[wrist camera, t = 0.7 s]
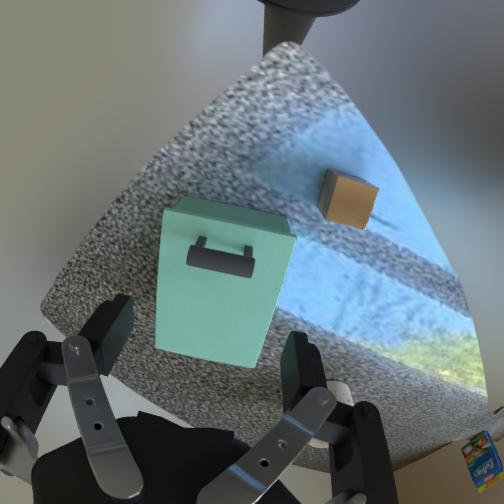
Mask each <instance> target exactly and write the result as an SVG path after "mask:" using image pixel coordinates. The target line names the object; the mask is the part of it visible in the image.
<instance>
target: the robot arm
mask: <svg viewBox="0 0 504 504" xmlns="http://www.w3.org/2000/svg"><path fill="white" fill-rule="evenodd" d="M133 323H134V315H133V297H131V296H128V295H124V294H120V293H118V294H117V295H116V297H115V298H114V299H113V301H109V300H107V301H105V302H103V303H102V304H100V305H99V306H98V308H97V309H96V310H95V312H94V313H93V314H92V316H91V317H90V318H89V320H88V321H87V322H86V324H85V325H84V326H83V328H82V329H81V331H80V332H79V333H78V335H73V336H70V337H67V338H66V339H65V340H64V341H63V342H53V341H47V339H46V336H45V335H44V334H43V333H42V332H40V331H30V332H28V333H26V334H25V335H24V336H23V337H22V338H21V340H20V341H19V342H18V344H17V345H16V346H15V348H14V349H13V351H12V352H11V353H10V355H9V356H8V358H7V359H6V361H5V362H4V364H3V365H2V367H1V368H0V470H1V471H2V472H3V473H4V474H6V475H8V476H16V477H18V478H20V479H22V480H23V481H25V482H27V483H29V484H30V485H32V489H33V499H34V502H33V504H301V503H300V502H299V501H298V500H297V499H296V498H295V497H294V495H293V494H292V493H291V492H290V491H289V490H288V489H287V488H286V487H285V486H284V484H283V483H282V482H281V481H280V480H279V479H278V478H279V477H280V476H281V475H282V474H283V473H284V472H285V471H286V469H287V468H288V467H289V466H290V465H291V464H292V463H293V461H294V460H295V459H296V458H297V457H298V455H299V454H300V453H301V452H302V451H303V449H304V448H305V447H306V446H307V444H308V443H309V442H310V441H311V439H312V438H314V439H317V440H321V441H324V442H327V443H328V445H329V457H330V470H331V484H332V499H331V500H329V501H328V502H326V503H325V504H399V502H398V497H397V491H396V485H395V480H394V475H393V470H392V465H391V460H390V455H389V451H388V446H387V442H386V438H385V433H384V429H383V425H382V421H381V417H380V413H379V410H378V409H377V407H376V406H375V405H373V404H372V403H370V402H367V401H360V402H357V403H356V404H355V405H354V406H351V405H348V404H345V403H342V402H339V401H337V399H336V396H335V395H334V394H333V393H332V392H331V391H330V390H328V387H327V383H326V378H325V374H324V369H323V367H322V366H323V365H322V361H321V356H320V351H319V350H318V349H317V347H316V346H315V345H314V344H310V343H308V338H307V334H306V333H303V332H297V331H291V332H290V334H289V336H288V339H287V341H286V344H285V347H284V349H283V352H282V355H281V361H280V365H281V379H282V394H283V410H284V415H285V416H284V417H283V418H282V419H281V420H280V421H279V422H278V423H277V424H276V425H275V426H274V427H273V428H272V429H271V430H270V431H269V432H268V433H267V434H266V435H265V436H264V437H263V438H262V439H261V440H260V441H259V442H258V443H256V444H255V445H254V446H253V447H252V448H251V447H250V446H249V445H247V444H246V443H244V442H242V441H240V440H238V439H236V438H234V431H228V430H221V429H215V428H184V427H181V426H179V425H177V424H175V423H173V422H171V421H169V420H167V419H164V418H163V417H160V416H156V415H152V414H149V413H145V412H141V411H139V412H138V415H137V417H135V416H132V417H122V418H118V419H115V417H114V414H113V412H112V410H111V407H110V404H109V401H108V399H107V396H106V393H105V390H104V387H103V385H102V382H101V378H100V375H101V374H102V375H104V376H107V377H108V375H109V373H110V371H111V369H112V367H113V365H114V363H115V361H116V359H117V358H118V356H119V354H120V352H121V350H122V348H123V346H124V344H125V342H126V340H127V338H128V337H129V335H130V333H131V331H132V328H133ZM58 385H64V386H67V387H68V391H69V395H70V399H71V403H72V407H73V411H74V414H75V418H76V421H77V425H78V428H79V431H80V434H81V437H80V438H78V439H76V440H74V441H72V442H70V443H68V444H66V445H64V446H61V447H59V448H57V449H55V450H53V451H51V452H49V453H46V454H44V455H43V456H41V457H40V458H39V459H38V456H37V452H38V441H37V439H36V437H35V436H34V435H35V433H36V430H37V428H38V425H39V423H40V421H41V419H42V416H43V414H44V412H45V410H46V408H47V406H48V404H49V402H50V400H51V398H52V396H53V393H54V392H55V390H56V388H57V386H58ZM286 415H287V416H286Z"/></svg>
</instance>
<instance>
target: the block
mask: <svg viewBox="0 0 504 504" xmlns="http://www.w3.org/2000/svg"><path fill="white" fill-rule="evenodd" d="M378 190H379V188H378V187H376V186H374V185H372V184H371V183H369V182H367V181H366V180H364V179H361V178H358V177H355V176H351V175H348V174H345V173H342V172H338V171H335V170H331V169H327V173H326V176H325V180H324V183H323V187H322V190H321V194H320V197H319V201H318V204H317V208H318V209H319V211H320V212H321V214H322V215H323V217H324V218H325V219H326V220H330V221H334V222H337V223H341V224H345V225H349V226H353V227H356V228H360V229H364V230H365V229H366V226H367V223H368V221H369V218H370V215H371V212H372V209H373V206H374V203H375V200H376V197H377V194H378Z"/></svg>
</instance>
